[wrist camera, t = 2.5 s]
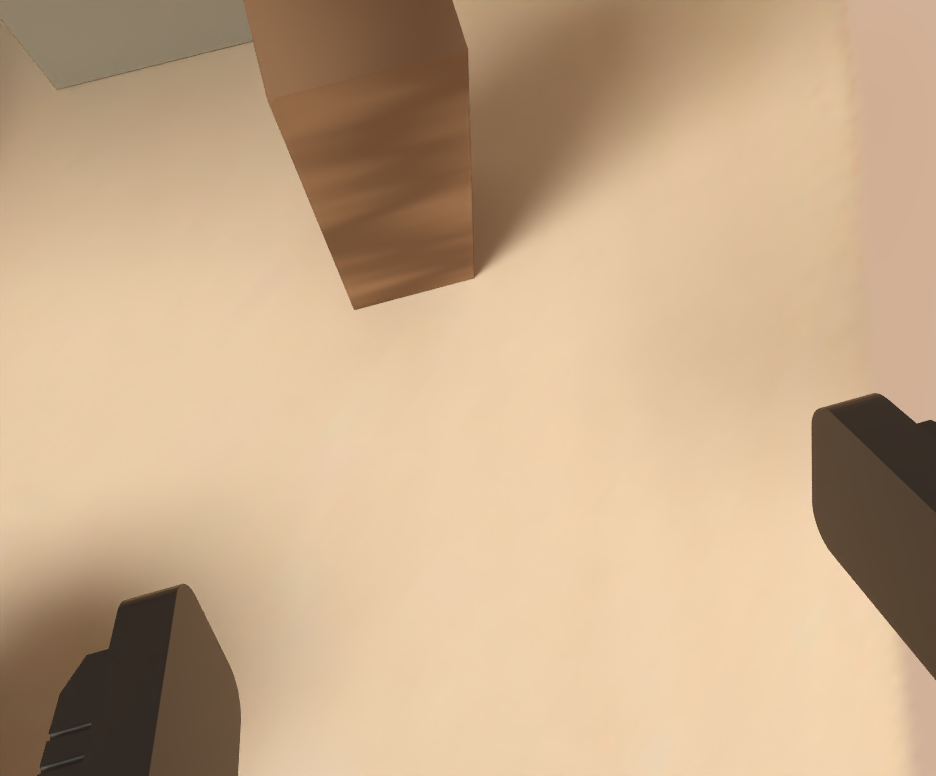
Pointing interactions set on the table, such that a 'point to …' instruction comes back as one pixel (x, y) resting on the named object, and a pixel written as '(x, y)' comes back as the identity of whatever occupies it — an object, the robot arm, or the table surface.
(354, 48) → the brown wooden bar
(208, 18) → the socket block
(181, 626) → the robot arm
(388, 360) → the table surface
